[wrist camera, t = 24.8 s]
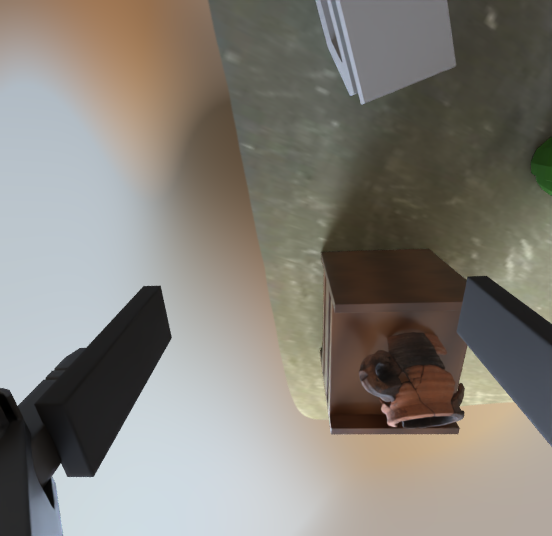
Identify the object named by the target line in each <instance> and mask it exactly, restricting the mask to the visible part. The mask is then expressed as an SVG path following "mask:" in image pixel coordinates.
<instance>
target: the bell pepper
mask: <svg viewBox="0 0 552 536" xmlns="http://www.w3.org/2000/svg"><path fill="white" fill-rule="evenodd" d="M531 173H532V174H533V175H535V176H536V181H537V183H538V184H539V185H540V187H541V188H542V189H543V190H544V191H545V192H547V193H548V194H549V195H551V196H552V137H550V138H549V139H548V140H547V141H545V142H544V143H543V144H542V145H541V146H540V147H539V148H537V150H536V151H535V154H534V156H533V158H532V161H531Z"/></svg>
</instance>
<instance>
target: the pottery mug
mask: <svg viewBox="0 0 552 536" xmlns="http://www.w3.org/2000/svg"><path fill="white" fill-rule="evenodd" d="M387 342H388V349H389V350H388V352H386V351H384V350H378V351H377V352H376V353H375V354H372V355H368V356H367V357H366V358H365V359H364V360H363V361H362V363H361V365H360V370H359V376H360V381H361V383H362V385H363V387H364V388H365V389H366V390H367V391H368V392H369V393H371V394H373V395H375V396H377V397H379V399H380V401H381V403H382V408H381V409H382V412H383V413H385V414H386V416H387V424H388V425H389V426H392V427H397V426H398V423H399V422H401V421H402V426H403V428H409V429H410V428H426V427H433V426H440V425H445V424H449V423H453V422H456V421H459V420H461V419H463V417H464V411H461V409H460V404H461V403H462V400H463V397H464V390H465V389H464V386H463V384H462V383H460V384H459V385H458V391H457V392H456V393H454V394H453V392H454V387H455V381H454V379H453V376H452V375H451V373H449V372H447V371H446V370H445V366H444V364H443V362H442V361H441V359H440V357H439V356H438V355H437V354H442V355H446V354H447V351H446V349H445V347H444V346H443V345H442V343H441V342H440V341H439V339H438V337H437V336H435V335H433V334H430V333H416V332H411V333H402V334H398V335H394V336H391V337H389V338H387ZM402 372H404V373H405V374H406V376H407V378H408V379H409V381H405V382H403V383H401V380H400V379H399V378H398V377H399V376H400V374H401V373H402Z"/></svg>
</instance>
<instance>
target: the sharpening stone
mask: <svg viewBox="0 0 552 536" xmlns="http://www.w3.org/2000/svg"><path fill="white" fill-rule="evenodd" d="M315 1H316V4H317V8H318V12H319V16H320V19H321V23H322V27H323V31H324V34H325V38H326V42H327V46H328V49H329V51H330V53H331V55H332V57H333V59H334V62H335V64H336V66H337V68H338V70H339V73H340V75H341V77H342V79H343V81H344V83H345V86H346V88H347V90H348V92H349V94H350V96H352V95H354V94H357V93H358V94H359V98H360V102H361V105H362V104H365V103H367V102H369V101H372V100H374V99H377V98H379V97H382V96H384V95H387V94H389V93H392V92H394V91H397V90H399V89H401V88H404V87H406V86H409V85H411V84H414V83H416V82H419V81H421V80H424V79H426V78H428V77H431V76H433V75H436V74H438V73H441V72H443V71H446V70H448V69H451V68H453V67H455V66H456V61H455V54H454V46H453V39H452V32H451V25H450V18H449V11H448V4H447V0H315Z"/></svg>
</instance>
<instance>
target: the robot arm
mask: <svg viewBox="0 0 552 536" xmlns="http://www.w3.org/2000/svg"><path fill="white" fill-rule="evenodd" d="M457 333H458V334H459V336H460V337H461V338H462V339H463V340H464V342H465V343H466V344H467V345H468V346H469V348H470V349H471V350H472V351H473V352H474V354H475V355H476V356H477V357H478V358H479V360H480V361H481V362H482V363H483V365H484V366H485V367H486V368H487V369H488V371H489V372H490V373H491V374H492V375H493V377H494V378H495V379H496V380H497V381H498V383H499V384H500V385H501V386H502V387H503V389H504V390H505V391H506V392H507V393H508V395H509V396H510V397H511V398H512V399H513V401H514V402H515V403H516V404H517V405H518V407H519V408H520V409H521V410H522V411H523V413H524V414H525V415H526V416H527V417H528V419H529V420H530V421H531V422H532V424H533V425H534V426H535V427H536V428H537V430H538V431H539V432H540V433H541V434H542V436H543V437H544V438H545V439H546V440H547V442H548V443H549V444H550V445H551V446H552V324H551V323H550V322H548V321H547V320H545V319H544V318H543V317H541V316H540V315H539V314H537V313H536V312H535V311H533V310H532V309H531V308H529V307H528V306H527V305H525V304H524V303H522V302H521V301H520V300H518V299H517V298H516V297H514V296H513V295H512V294H510V293H509V292H508V291H506V290H505V289H504V288H502V287H501V286H499V285H498V284H497V283H495V282H494V281H493V280H491V279H490V278H489V277H487V276H471V277H468V278H467V283H466V288H465V292H464V297H463V302H462V307H461V312H460V317H459V322H458V327H457ZM171 338H172V337H171V332H170V328H169V323H168V318H167V314H166V309H165V304H164V300H163V295H162V290H161V286H143V287H142V289H140V291H139V292H138V293H137V294H136V295H135V296H134V297H133V298H132V299H131V300H130V301H129V303H128V304H127V305H126V306H125V307H124V308H123V309H122V310H121V311H120V312H119V313H118V314H117V315H116V317H115V318H114V319H113V320H112V321H111V322H110V323H109V324H108V325H107V326H106V327H105V328H104V329H103V331H102V332H101V333H100V334H99V335H98V336H97V337H96V338H95V339H94V340H93V341H92V342H91V344H89V346H88V347H87V348H79V349H78V350H76V351H75V352H73V353H72V354H70V355H69V356H67V357H66V358H64V359H63V360H62V361H61V362H60V363H59V365H58V366H57V367H56V368H55V370H54V371H52V372H51V373H50V374H49V375H48V376H47V377H46V379H45V380H43V381H42V382H41V383H40V384H39V385H38V386H37V387H36V388H35V389H34V390H33V391H32V392H31V393H30V394H29V395H28V396H27V397H26V398H25V399H24V400H23V401H22V402H21V403H20V404H19V405H18V406H17V405H16V402H15V400H14V398H13V396H12V394H11V392H10V390H7V389H4V388H0V536H63V531H62V524H61V517H60V511H59V503H58V497H57V490H56V484H55V482H54V480H53V477H52V475H53V474H54V472H55V471H56V469H57V468H58V466H59V465H60V463H61V464H62V466H63V468H64V470H65V472H66V475H67V477H94V475H95V473H96V472H97V470H98V468H99V466H100V464H101V463H102V461H103V459H104V457H105V455H106V454H107V452H108V450H109V448H110V447H111V445H112V443H113V441H114V440H115V438H116V436H117V434H118V432H119V431H120V429H121V427H122V425H123V423H124V422H125V420H126V418H127V416H128V415H129V413H130V411H131V409H132V408H133V406H134V404H135V402H136V400H137V398H138V397H139V395H140V393H141V392H142V390H143V388H144V386H145V384H146V383H147V381H148V379H149V377H150V375H151V374H152V372H153V370H154V368H155V366H156V365H157V363H158V361H159V360H160V358H161V356H162V354H163V352H164V350H165V349H166V347H167V345H168V344H169V342H170V340H171Z"/></svg>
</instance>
